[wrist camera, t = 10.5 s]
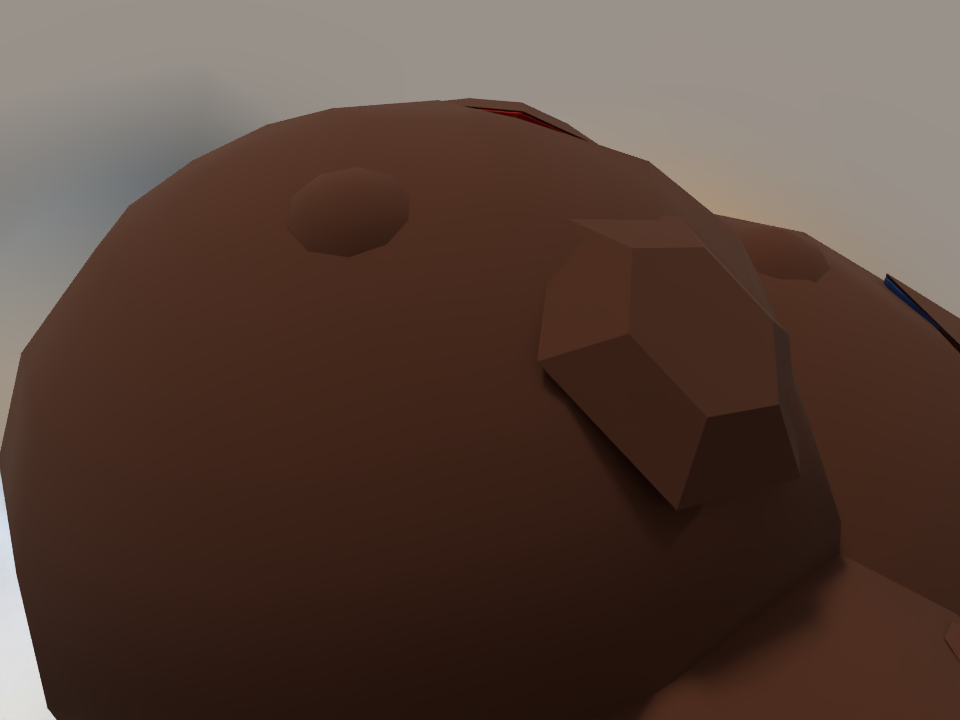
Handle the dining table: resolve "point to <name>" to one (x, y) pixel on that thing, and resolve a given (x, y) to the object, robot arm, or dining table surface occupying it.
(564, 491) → the ice cream bowl
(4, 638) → the dining table surface
